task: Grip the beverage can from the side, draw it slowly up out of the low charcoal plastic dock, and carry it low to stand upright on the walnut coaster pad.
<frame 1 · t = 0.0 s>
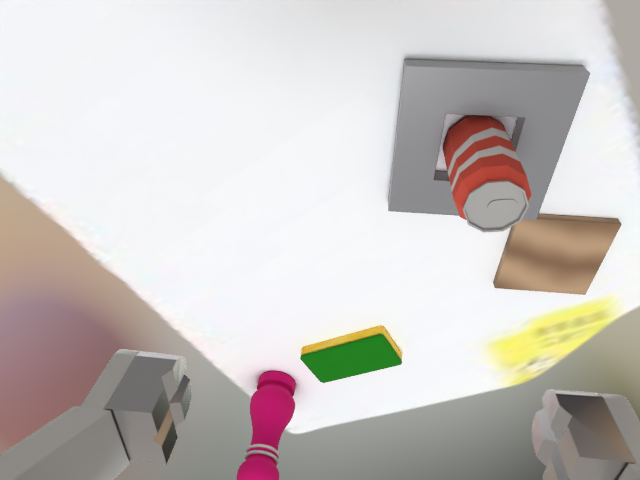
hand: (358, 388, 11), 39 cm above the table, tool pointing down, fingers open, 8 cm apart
coaster pad: (551, 252, 56), on the table
pepper mill: (277, 380, 79), on the table
beverage can: (473, 140, 48), resting in dock
dock: (473, 141, 48), on the table
dish sponge: (351, 347, 72), on the table
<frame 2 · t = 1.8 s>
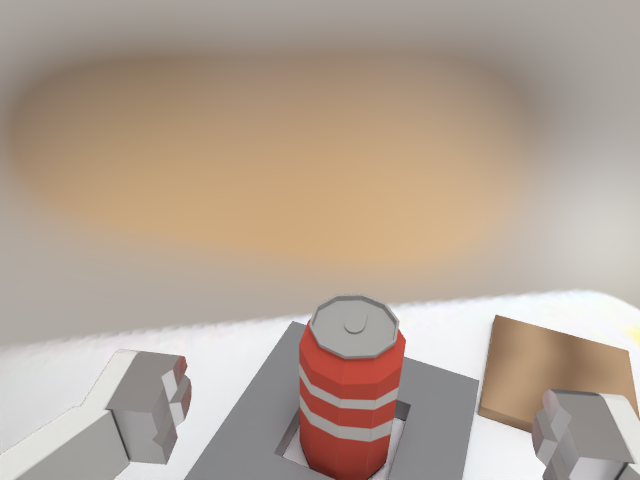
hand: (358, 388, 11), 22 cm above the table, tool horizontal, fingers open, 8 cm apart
coaster pad: (555, 384, 38), on the table
beverage can: (344, 446, 34), resting in dock
dock: (344, 444, 33), on the table
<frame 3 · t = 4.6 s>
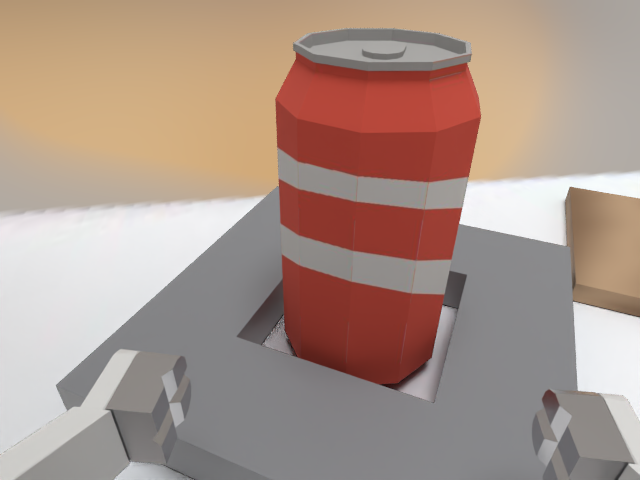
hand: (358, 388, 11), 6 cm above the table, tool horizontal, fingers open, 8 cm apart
beverage can: (358, 341, 20), resting in dock
dock: (359, 338, 20), on the table
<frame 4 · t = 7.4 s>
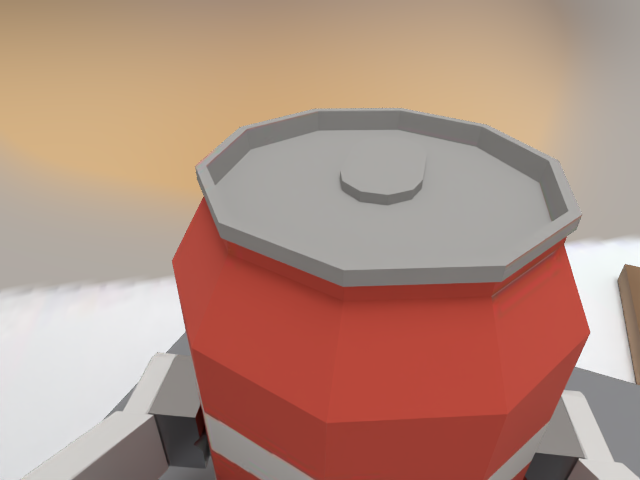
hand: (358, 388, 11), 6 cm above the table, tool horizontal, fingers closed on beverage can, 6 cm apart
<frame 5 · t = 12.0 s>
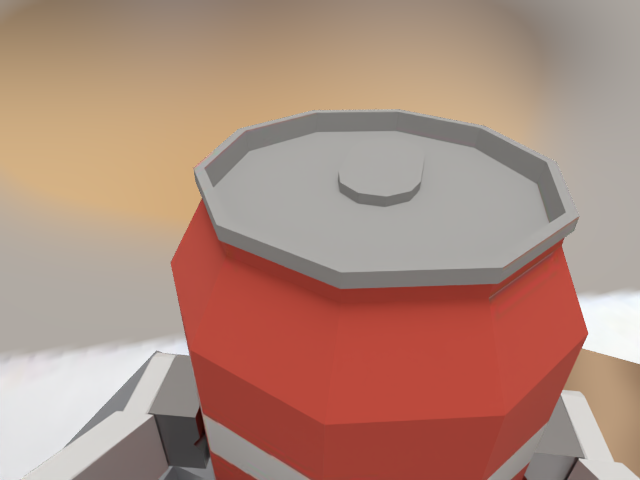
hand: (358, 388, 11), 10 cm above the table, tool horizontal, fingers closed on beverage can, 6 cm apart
when the fingers open (8 cm above the table, at t = 16.7 s): beverage can stays where it is, resting on coaster pad.
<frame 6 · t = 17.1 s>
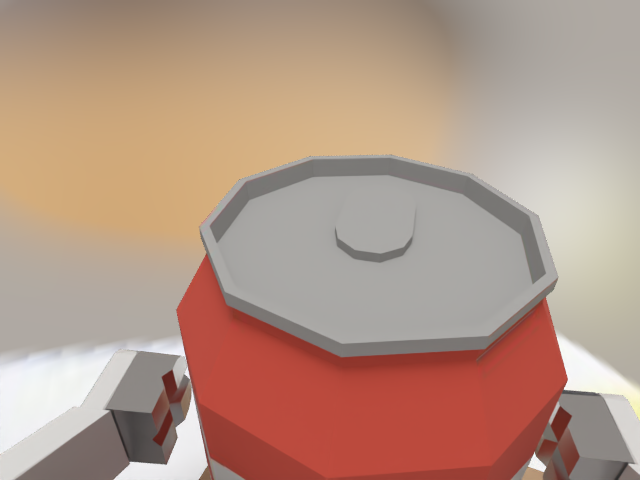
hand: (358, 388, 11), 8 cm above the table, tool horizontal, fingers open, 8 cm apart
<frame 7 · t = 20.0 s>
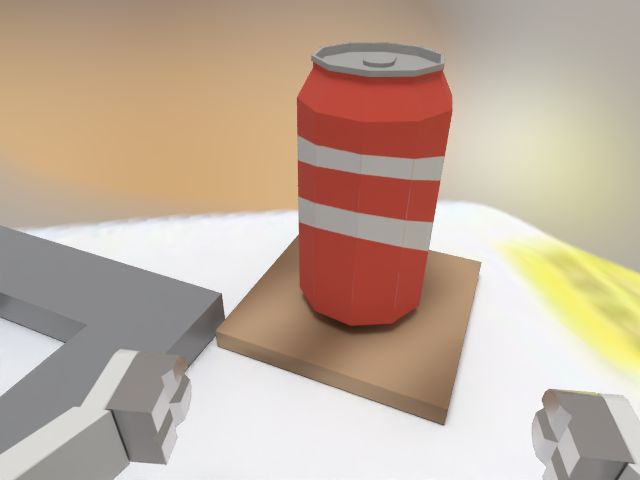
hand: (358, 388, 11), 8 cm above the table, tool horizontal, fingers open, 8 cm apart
coaster pad: (360, 307, 25), on the table
beverage can: (359, 296, 25), point 1 cm above the table, touching coaster pad
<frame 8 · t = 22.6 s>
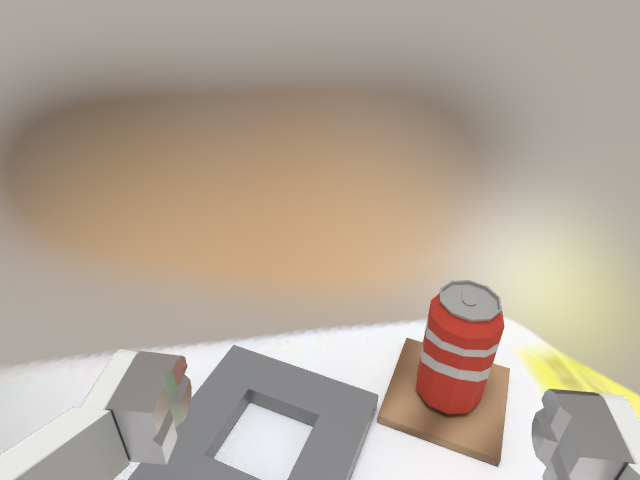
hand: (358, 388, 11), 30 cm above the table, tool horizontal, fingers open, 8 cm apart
coaster pad: (445, 397, 47), on the table
beverage can: (446, 392, 46), point 1 cm above the table, touching coaster pad
dock: (264, 447, 42), on the table
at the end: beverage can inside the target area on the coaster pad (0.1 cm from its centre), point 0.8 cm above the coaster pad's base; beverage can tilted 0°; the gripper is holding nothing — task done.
